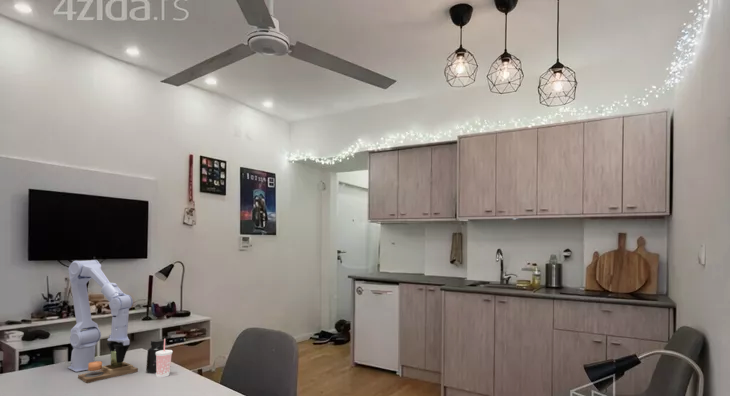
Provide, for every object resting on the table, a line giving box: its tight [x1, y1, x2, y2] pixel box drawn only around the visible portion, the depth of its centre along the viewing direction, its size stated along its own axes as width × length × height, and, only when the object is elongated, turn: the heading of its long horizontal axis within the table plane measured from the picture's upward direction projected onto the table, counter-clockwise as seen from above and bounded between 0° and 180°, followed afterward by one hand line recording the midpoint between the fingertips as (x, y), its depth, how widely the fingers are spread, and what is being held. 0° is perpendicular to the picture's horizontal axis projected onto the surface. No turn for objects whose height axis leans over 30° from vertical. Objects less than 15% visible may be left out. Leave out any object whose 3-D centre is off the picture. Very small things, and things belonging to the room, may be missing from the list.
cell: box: [110, 349, 122, 367], centre depth 168 cm, size 4×4×7 cm
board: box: [77, 361, 139, 384], centre depth 166 cm, size 9×18×3 cm, turn 142°
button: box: [87, 360, 103, 372], centre depth 162 cm, size 4×4×2 cm
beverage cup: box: [155, 338, 174, 378], centre depth 166 cm, size 6×6×14 cm
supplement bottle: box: [145, 338, 167, 374], centre depth 172 cm, size 7×7×12 cm
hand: (117, 361), depth 168 cm, fingers closed on cell, 4 cm apart
